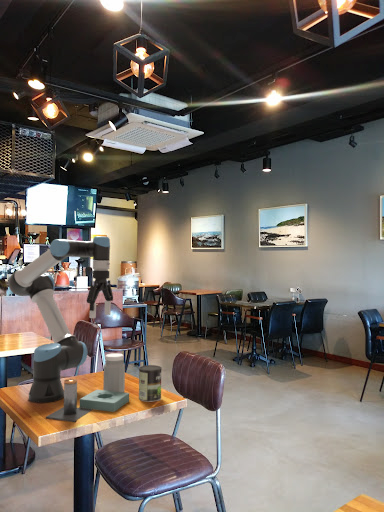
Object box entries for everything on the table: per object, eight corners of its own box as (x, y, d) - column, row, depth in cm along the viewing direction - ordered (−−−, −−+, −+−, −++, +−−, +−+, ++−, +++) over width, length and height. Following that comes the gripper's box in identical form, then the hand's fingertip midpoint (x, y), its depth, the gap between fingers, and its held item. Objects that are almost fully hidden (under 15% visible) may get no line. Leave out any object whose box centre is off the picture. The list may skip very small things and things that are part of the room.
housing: (79, 408, 169) (79, 399, 169) (96, 398, 183) (96, 389, 183) (114, 413, 165) (114, 403, 165) (128, 402, 178) (129, 393, 178)
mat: (45, 418, 158) (45, 416, 158) (65, 407, 170) (65, 405, 170) (75, 422, 154) (75, 420, 154) (92, 410, 167) (92, 409, 167)
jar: (99, 395, 187) (99, 356, 188) (110, 389, 196) (111, 352, 197) (117, 397, 184) (117, 358, 184) (128, 391, 193) (128, 353, 193)
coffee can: (163, 396, 187) (164, 365, 187) (157, 403, 177) (158, 371, 177) (142, 394, 189) (143, 364, 189) (135, 401, 179) (135, 369, 179)
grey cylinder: (61, 414, 161) (61, 381, 161) (68, 410, 166) (68, 378, 166) (72, 415, 159) (72, 382, 160) (79, 411, 164) (79, 379, 165)
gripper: (94, 270, 173) (93, 319, 173) (120, 270, 197) (120, 313, 196) (79, 269, 175) (78, 319, 175) (106, 269, 199) (106, 313, 199)
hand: (100, 316), depth 186 cm, fingers open, 13 cm apart
